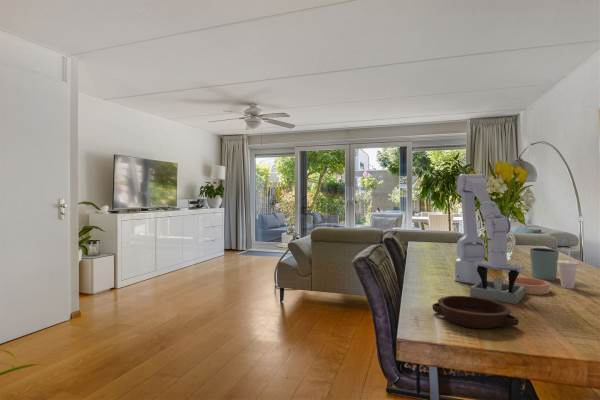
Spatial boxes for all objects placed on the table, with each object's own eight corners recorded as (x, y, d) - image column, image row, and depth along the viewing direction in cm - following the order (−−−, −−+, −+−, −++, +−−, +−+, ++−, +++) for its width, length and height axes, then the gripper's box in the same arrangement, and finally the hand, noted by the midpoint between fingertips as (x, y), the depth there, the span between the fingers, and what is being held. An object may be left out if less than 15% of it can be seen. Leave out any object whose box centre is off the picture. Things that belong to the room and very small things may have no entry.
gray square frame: (470, 295, 120) (470, 287, 120) (481, 287, 131) (481, 280, 131) (516, 304, 111) (516, 294, 111) (525, 294, 121) (525, 286, 121)
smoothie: (582, 289, 127) (582, 252, 126) (562, 289, 128) (562, 251, 128) (572, 285, 133) (572, 249, 133) (553, 284, 134) (553, 249, 134)
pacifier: (507, 300, 116) (511, 295, 120) (507, 281, 115) (511, 277, 120) (483, 295, 121) (488, 291, 125) (483, 278, 120) (487, 274, 125)
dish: (516, 341, 83) (516, 321, 83) (423, 322, 96) (423, 305, 96) (520, 320, 97) (520, 302, 97) (439, 306, 110) (439, 290, 110)
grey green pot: (547, 274, 151) (547, 247, 151) (565, 280, 141) (565, 251, 141) (524, 275, 151) (524, 247, 151) (540, 280, 141) (540, 251, 141)
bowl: (501, 289, 128) (501, 281, 128) (510, 282, 138) (510, 275, 138) (546, 296, 119) (546, 287, 119) (551, 288, 129) (551, 280, 129)
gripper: (471, 250, 123) (472, 288, 123) (519, 255, 113) (519, 296, 113) (477, 248, 128) (477, 284, 128) (523, 252, 118) (523, 291, 118)
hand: (497, 289), depth 121 cm, fingers closed on pacifier, 7 cm apart
